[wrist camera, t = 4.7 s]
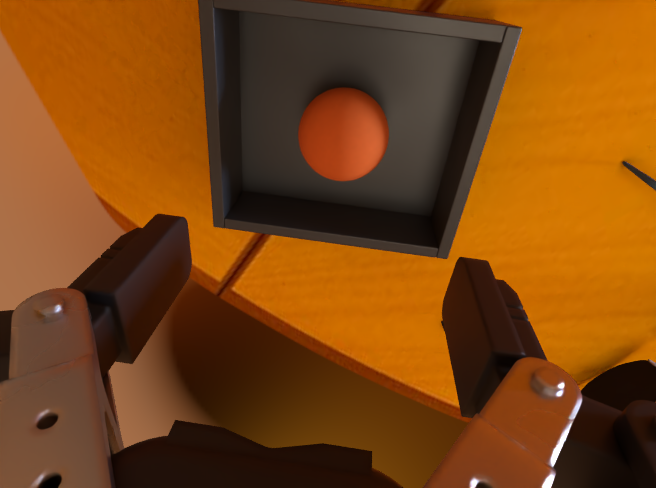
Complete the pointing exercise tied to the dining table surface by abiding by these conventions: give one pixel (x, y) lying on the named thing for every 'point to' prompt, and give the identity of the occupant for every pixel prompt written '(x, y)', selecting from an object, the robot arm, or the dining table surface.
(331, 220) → the bin
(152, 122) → the dining table surface
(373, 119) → the ball
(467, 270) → the robot arm
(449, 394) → the dining table surface
